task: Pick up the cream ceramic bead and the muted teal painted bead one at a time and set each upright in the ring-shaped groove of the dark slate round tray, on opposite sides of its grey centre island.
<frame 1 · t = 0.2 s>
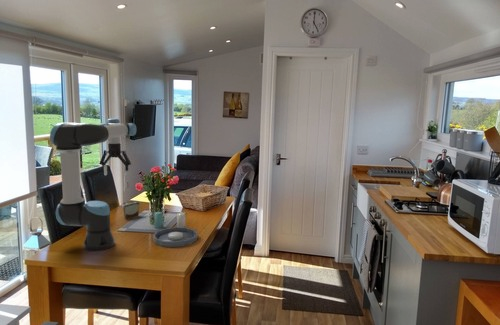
hand: (115, 175, 246), 28 cm above the table, fingers open, 13 cm apart
teal bead: (158, 227, 232), on the table
groove tray: (175, 239, 212), on the table
cream bead: (181, 228, 230), on the table
food container: (129, 217, 251), on the table
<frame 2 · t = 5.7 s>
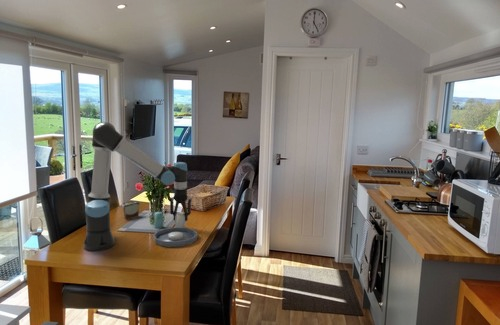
hand: (180, 225, 230), 2 cm above the table, fingers closed on cream bead, 5 cm apart
cream bead: (180, 227, 230), on the table, touching gripper
everything else where it was.
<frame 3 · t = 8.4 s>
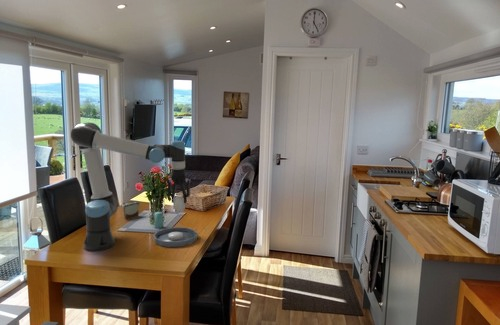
hand: (179, 208, 217), 16 cm above the table, fingers closed on cream bead, 4 cm apart
cream bead: (179, 211, 217), point 14 cm above the table, touching gripper
everything else where it was.
when the fingers open (3 cm above the table, at t = 10.9 s): cream bead stays where it is, resting on groove tray.
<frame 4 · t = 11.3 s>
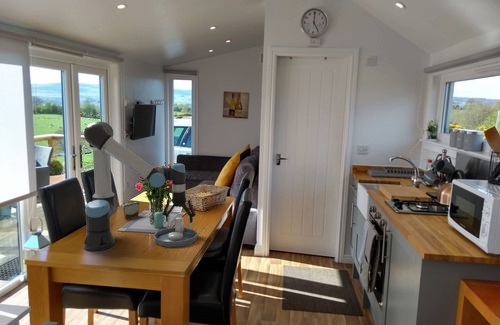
hand: (179, 227, 219), 4 cm above the table, fingers open, 11 cm apart
cream bead: (179, 233, 220), point 1 cm above the table, touching groove tray
everything else where it was.
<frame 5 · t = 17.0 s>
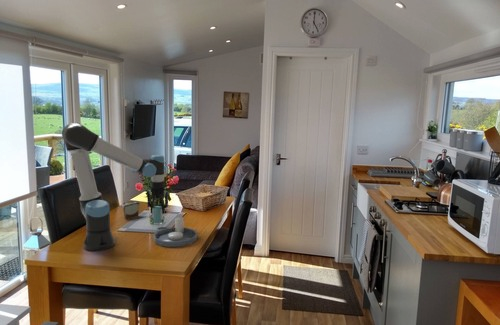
hand: (157, 218, 230), 6 cm above the table, fingers closed on teal bead, 5 cm apart
teal bead: (157, 221, 231), point 4 cm above the table, touching gripper
everything else where it was.
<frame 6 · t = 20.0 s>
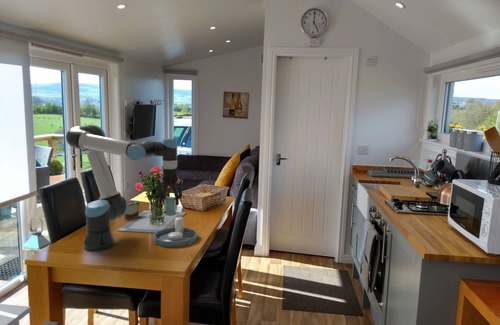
hand: (170, 210, 202), 19 cm above the table, fingers closed on teal bead, 5 cm apart
teal bead: (171, 214, 202), point 17 cm above the table, touching gripper
everything else where it was.
when the fingers open (3 cm above the table, at t = 23.2 s): teal bead stays where it is, resting on groove tray.
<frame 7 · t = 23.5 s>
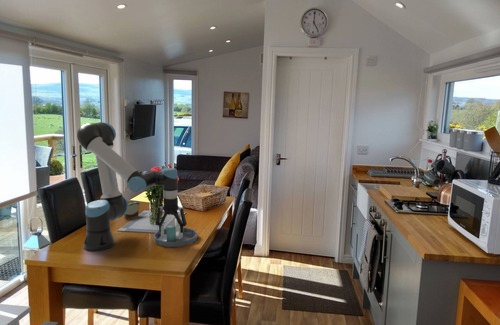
hand: (171, 237, 204), 4 cm above the table, fingers open, 9 cm apart
teal bead: (171, 242, 205), point 1 cm above the table, touching groove tray
everything else where it was.
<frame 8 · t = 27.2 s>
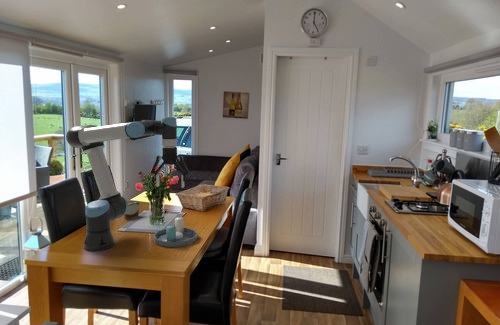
hand: (170, 186, 200), 32 cm above the table, fingers open, 13 cm apart
nothing on the table moved.
at the end: cream bead 0.1 cm from the target spot on the groove tray, point 0.6 cm above the groove tray's base; teal bead 0.1 cm from the target spot on the groove tray, point 0.6 cm above the groove tray's base; the gripper is holding nothing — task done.
